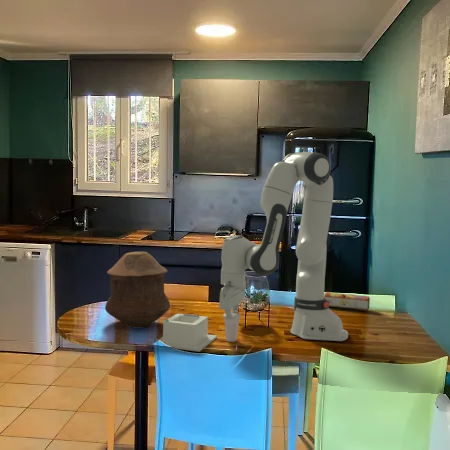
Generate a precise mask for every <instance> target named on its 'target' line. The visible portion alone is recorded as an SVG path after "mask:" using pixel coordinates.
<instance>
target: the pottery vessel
mask: <svg viewBox="0 0 450 450" xmlns="http://www.w3.org/2000/svg"><path fill="white" fill-rule="evenodd" d="M106 273H107V274H108V275H109V281H110V296H109V298H108V299H107V300H106V303H105V306H104V309H105V311H106V313H107V314H109V316H111V317H113V318H115V319H116V320H118V321H119V322H121V323H123V324H125V325H126V326H127V325H128V326H127V327H129V326H130V327H129V328H133V327H144V328H149V327H151V326H152V325H153V323H155V322H156V321H157V320H159V319H160V318H162V317H163V316H164V315H165V314H166V313H167V312H168V311H169V310H170V309H171V303H170V300H169V298H168V296H167V295H166V293H165V274H167V273H168V269H166V267H164V266H162V265H161V264H160V263H159V262H158V261H157V260H156V259H155V257H153V256H152V255H151V254H150V253H149V252H147V251H131V252H127V253H125V254H123V256H121V257H120V258H119V260H118V261H116V263H114V265H113V266H112V267H111V268H110V269H108V270H107V272H106ZM148 326H149V327H148Z"/></svg>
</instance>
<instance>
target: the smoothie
mask: <svg viewBox="0 0 450 450" xmlns="http://www.w3.org/2000/svg"><path fill="white" fill-rule="evenodd" d="M231 314H232V318H231V319H230V320H228V319H226V313H223V315H222V316H223V319H224V328H225V330H224V331H225V339H226V342H229V343H230V342H236V341H237V338H238V332H239V331H238V330H239V325H240V319H241V314H240V313H239V312H238V313H233V307H232V308H231Z"/></svg>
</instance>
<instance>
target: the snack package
mask: <svg viewBox="0 0 450 450" xmlns="http://www.w3.org/2000/svg"><path fill="white" fill-rule="evenodd" d="M324 298H325V299H326V300H329V307H333V308H341V309H342V308H343V309H354V310H355V309H356V310H364V311H368V310H369V309H370V301H371V300H370V299H371V298H370V296H368V295H357V294H351V293H350V294H349V293H348V294H347V293H339V292H330V291H325V292H324Z"/></svg>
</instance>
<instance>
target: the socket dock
mask: <svg viewBox="0 0 450 450" xmlns="http://www.w3.org/2000/svg"><path fill="white" fill-rule="evenodd" d="M162 324H163V325H162V336H161V337H160V338H159V339H157V340H161V341H163V342H165V343H166V344H168V345H170V346H171V347H174V348H173V349H177V350H185V351H191V352H192V351H193V352H201V351H203V350H204V349H205V348H206V347H207V346H208V345H210V344H211V343H212V342H213V341H215V340H216V339H217V338H218V335H215V334H208V332H209V331H208V328H209V327H208V326H209V325H208V324H209V317H208V316H202V315H199V314H198V315H197V314H191V313H190V314H189V313H176V314H174V315H172V316H171V317H169V318H166V319H164V320H163V321H162ZM151 346H154V342H152V345H151Z"/></svg>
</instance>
